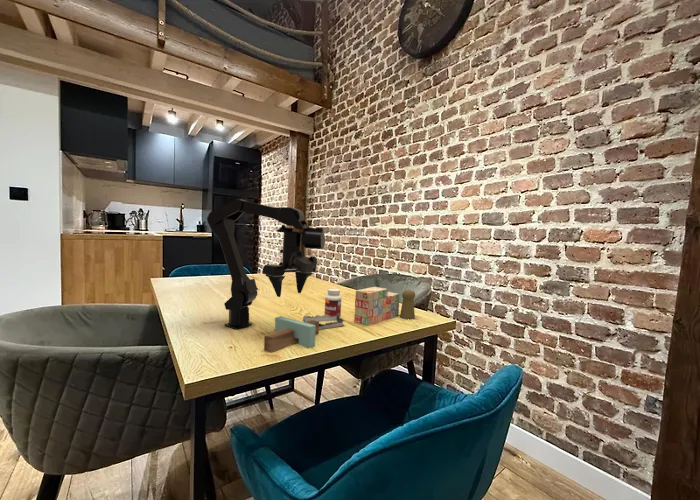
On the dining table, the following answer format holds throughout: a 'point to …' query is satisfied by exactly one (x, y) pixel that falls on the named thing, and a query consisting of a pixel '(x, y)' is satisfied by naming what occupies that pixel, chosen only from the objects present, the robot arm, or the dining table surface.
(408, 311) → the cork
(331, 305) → the pill bottle
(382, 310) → the stack of blocks
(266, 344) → the walnut board
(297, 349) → the dining table surface
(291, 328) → the teal plate
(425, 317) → the dining table surface
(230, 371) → the dining table surface
